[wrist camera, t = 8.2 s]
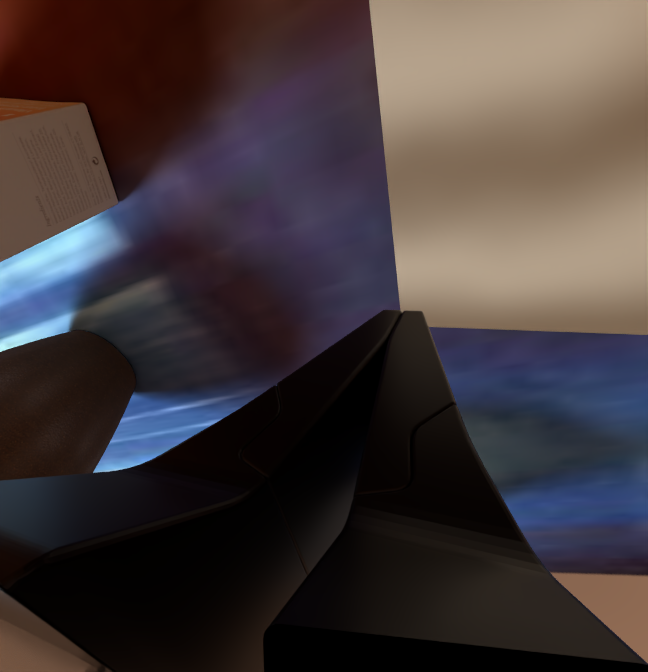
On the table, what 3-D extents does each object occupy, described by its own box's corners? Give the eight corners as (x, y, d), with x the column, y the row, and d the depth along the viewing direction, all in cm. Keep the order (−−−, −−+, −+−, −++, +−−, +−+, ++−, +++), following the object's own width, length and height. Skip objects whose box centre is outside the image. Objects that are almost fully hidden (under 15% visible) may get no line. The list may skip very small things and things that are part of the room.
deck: (624, 281, 18) (647, 334, 15) (416, 282, 21) (402, 325, 18) (737, -163, 10) (828, -233, 7) (393, -52, 14) (362, -69, 11)
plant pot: (11, 331, 39) (-202, 468, 27) (58, 257, 30) (-233, 415, 18) (129, 432, 43) (-11, 587, 32) (201, 394, 34) (42, 592, 23)
